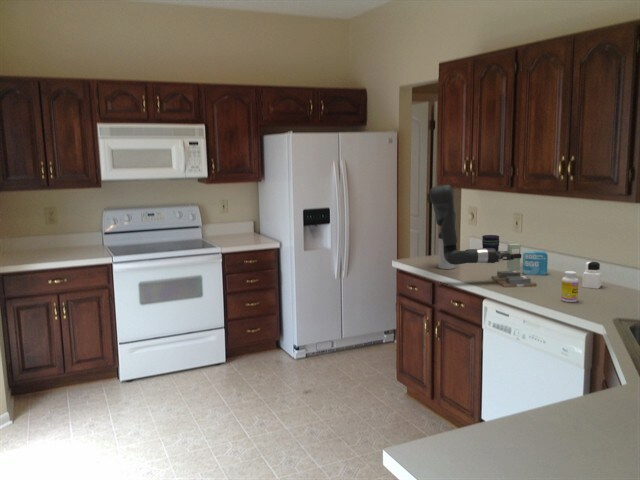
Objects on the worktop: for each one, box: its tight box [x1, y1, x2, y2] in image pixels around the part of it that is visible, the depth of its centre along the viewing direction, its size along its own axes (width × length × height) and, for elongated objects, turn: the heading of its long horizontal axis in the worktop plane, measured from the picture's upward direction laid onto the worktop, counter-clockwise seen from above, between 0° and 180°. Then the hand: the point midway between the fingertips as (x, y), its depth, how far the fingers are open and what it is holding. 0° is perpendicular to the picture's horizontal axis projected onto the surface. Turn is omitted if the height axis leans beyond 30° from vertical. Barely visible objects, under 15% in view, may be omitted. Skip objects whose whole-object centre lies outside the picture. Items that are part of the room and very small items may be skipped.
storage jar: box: [481, 234, 500, 263], centre depth 338 cm, size 10×10×15 cm
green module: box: [506, 243, 522, 272], centre depth 283 cm, size 5×5×13 cm
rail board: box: [490, 270, 538, 288], centre depth 285 cm, size 20×16×4 cm
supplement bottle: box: [560, 270, 579, 303], centre depth 248 cm, size 7×7×13 cm
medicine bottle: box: [582, 261, 602, 290], centre depth 271 cm, size 7×7×12 cm
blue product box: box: [522, 250, 548, 276], centre depth 301 cm, size 12×4×12 cm, turn 73°
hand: (519, 255), depth 283 cm, fingers closed on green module, 4 cm apart
